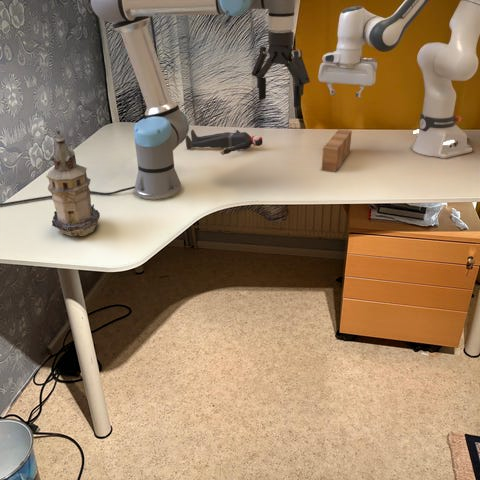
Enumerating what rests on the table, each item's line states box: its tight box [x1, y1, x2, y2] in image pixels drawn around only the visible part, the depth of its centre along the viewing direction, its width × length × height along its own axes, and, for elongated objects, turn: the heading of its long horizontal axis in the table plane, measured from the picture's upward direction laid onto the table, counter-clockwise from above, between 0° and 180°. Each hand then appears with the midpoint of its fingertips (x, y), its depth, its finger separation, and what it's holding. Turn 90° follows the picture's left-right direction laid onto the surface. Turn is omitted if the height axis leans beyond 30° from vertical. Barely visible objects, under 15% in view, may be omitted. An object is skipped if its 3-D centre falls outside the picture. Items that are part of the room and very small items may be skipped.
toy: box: [185, 129, 264, 156], centre depth 213 cm, size 26×6×30 cm
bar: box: [321, 128, 353, 173], centre depth 198 cm, size 22×5×8 cm, turn 157°
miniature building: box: [46, 129, 101, 237], centre depth 148 cm, size 13×14×30 cm
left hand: (279, 102), depth 169 cm, fingers open, 13 cm apart
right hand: (345, 96), depth 195 cm, fingers open, 8 cm apart
